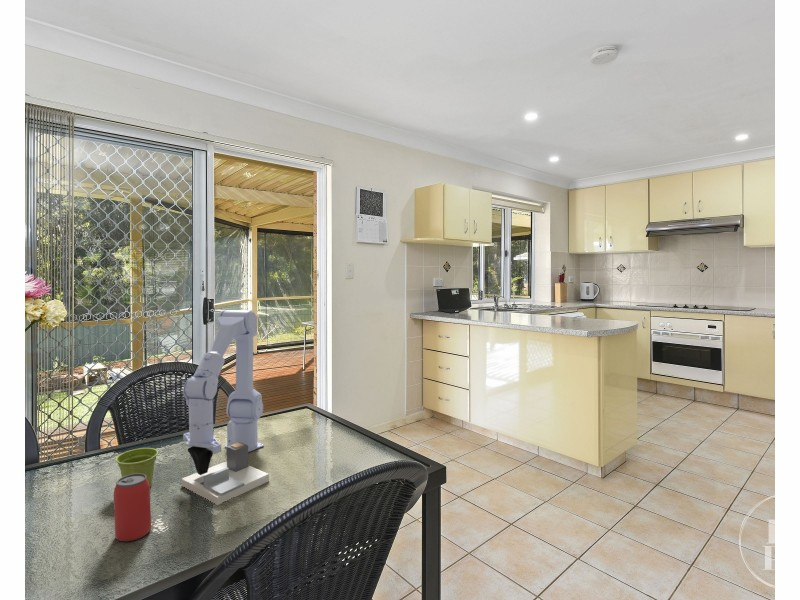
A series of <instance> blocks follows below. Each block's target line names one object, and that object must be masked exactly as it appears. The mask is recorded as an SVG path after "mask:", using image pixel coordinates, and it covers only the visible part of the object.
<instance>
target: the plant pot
mask: <svg viewBox="0 0 800 600" xmlns="http://www.w3.org/2000/svg"><path fill="white" fill-rule="evenodd" d="M158 455H159V451H158V449H156V448H154V447H152V448H151V447H141V448H135V449H134V448H133V449H131V450H126V451H124V452H122V453H121V454H119V455H117V456H116V458H115V462H116V463H117V466H118V468H119V470H120V471H119V472H120V474H121V478H122V477H124V476H127V475H130V474H137V473H140V474H145V475H146V476H147V480H148V482H149V485H150V488H151V487H152V484H153V479H154V470H155V463H156V462H155V461H156V460H157V456H158Z"/></svg>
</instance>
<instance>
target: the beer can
mask: <svg viewBox="0 0 800 600" xmlns="http://www.w3.org/2000/svg"><path fill="white" fill-rule="evenodd" d="M150 489H151V487H150V485H149V482H148V480H147V476H146V475H145V474H140V473H137V474H130V475H127V476H124V477H122V476H121V477H120V478H119V479H117V480H116V481H115V487H114V490H113V510H114V512H113V513H114V536H115V537H114V538H116V539H117V541H120V542H124V543H125V542H126V543H127V542H133V541H137V540H139V539H141V538H142V537H145V536H146V535H147V534H148V533H149V532H150V531H151V528H152V519H151V518H152V513H151V490H150Z"/></svg>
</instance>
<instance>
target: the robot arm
mask: <svg viewBox="0 0 800 600" xmlns="http://www.w3.org/2000/svg"><path fill="white" fill-rule="evenodd" d="M216 323H217V329H218V330H217V332H216V335H215V337H214V341H213V343H212V346H211V349H210V351H208V352H206V353H204V354H203V356H202V358H201V360H200V362H199V364H198V366H197V367H196V370H195V372H194V374H193V376H190V377H189V378H187V379H186V380H185V382H184V385H183V389H182V396H183V397H184V398H185V402H186V403H185V405H186V406H188V425H189V427H188V429H189V430H188V431H189V432H185V433H183V434H182V438H183V439H182V440H183V442H185V446H186V447H188V448H187V452H188V454H189V455H190V456H191V458H192V460H193V461H192V462H193V463H194V467H195V470H196V473H198V474H199V475H202V474H205V473H207V472H208V468H210V463H211V461H212V459H213V458H212V457H213V455H216V454H218V453H221V452H222V443H220V442H219V441H218V440H217V439H216V437H215V435H214V404H213V403H214V402H213V401H214V398H215V396H216V394H217V391H218V384H219V376H220V374H221V372H222V370H223V367H224V364H225V362H226V361H225V358H224V357H223V356H224V355H225V353H226V352H227V349H228V348H229V346H230V344H231V343H232V341H233V339H235V341H236V344H235V390H234V391H232V392H231V393H230V394H229V395H228V399H227V405H226V410H225V411H226V416H227V417H228V418H229V419H230V420H229V421H228V423H227V424H226V441H227V443H226V444H225V445H224V447H225V448H226V447H227V446H230V445H233V444H235V443H238V442H240V443H243V444H246V445H248V453H250V452H252V451H255V450H257V449H260V448H262V447H264V446H265V445H264V444H263V443H261V442H259V437H258V436H259V435H258V434H259V433H258V432H259V431H258V420H260V418H261V417H262V415H263V412H264V403H263V400H262V399H263V397H262V394H261V393H260V392H259V391H258V390H256V389H255V388H254V337H256V336H257V335H258V316H257V315H256V313H255V311H254V310H252V309H251V310H250V309H248V310H231V309H229V310H228V309H222V310H221V311H220V312H219V314H218V316H217V322H216Z"/></svg>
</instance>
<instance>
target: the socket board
mask: <svg viewBox="0 0 800 600" xmlns="http://www.w3.org/2000/svg"><path fill="white" fill-rule="evenodd" d="M226 467H227V460H226V461H224V462H221V463H218V464H215V465H213V466H211V467H210V466H209V468H208V472H207V473H205V474H202V475H199V474H198V473H197V472H195V473H192V474H190V475H188V476H185V477H182V478H181V487H182V488H184V487H185V489H186V488H187V490H188V489H189V491H190V490H191V491H190V492H192V491H193V492H192V493H194V494H195V493H196V495H197V494H199V495H200V496H199V495H198V496H199V497H201V496H202V497H201V498H203V497H204V498H203V499H205V498H206V499H205V500H207V499H208V500H209V501H208V500H207V501H208V502H210V501H211V502H210V503H212V502H213V503H212V504H214V503H215V504H214V505H215V506H216V505H217V506H219V505H221V504H223V503H222V502H224V501H226V500H228V501H230V500H232V499H234V498H236V497H238V496H240V495H242V494H245V493H247V492H249V491H251V490H253V489H256V488H258V487H259V486H262V485H264V484H266V483H268V482H269V481H270V474H269V473H268V472H265V471H262V470H260V469H258V468H255V467H253V466H251V465H249V467H247V468H244V469H242V470H239V471H237V472H235V471H232V470H230V469H229V476H230V477H232V478H234V479H236V480H238V481H241V482H243V483H244V486H242V487H240V488H238V489H236V490H233V491H231V492H229V493H227V494H225V495H222V496H220V495H218V494H216V493H214V492H212V491H211V490H209V489H207V488H205V487H204V476H206V475H209V474H211V473H214V472H216V471H219V470H221V469H224V468H226ZM233 497H234V498H233ZM231 498H232V499H231ZM229 499H230V500H229ZM226 502H227V501H226ZM220 503H221V504H220ZM224 503H225V502H224ZM218 504H219V505H218Z"/></svg>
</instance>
